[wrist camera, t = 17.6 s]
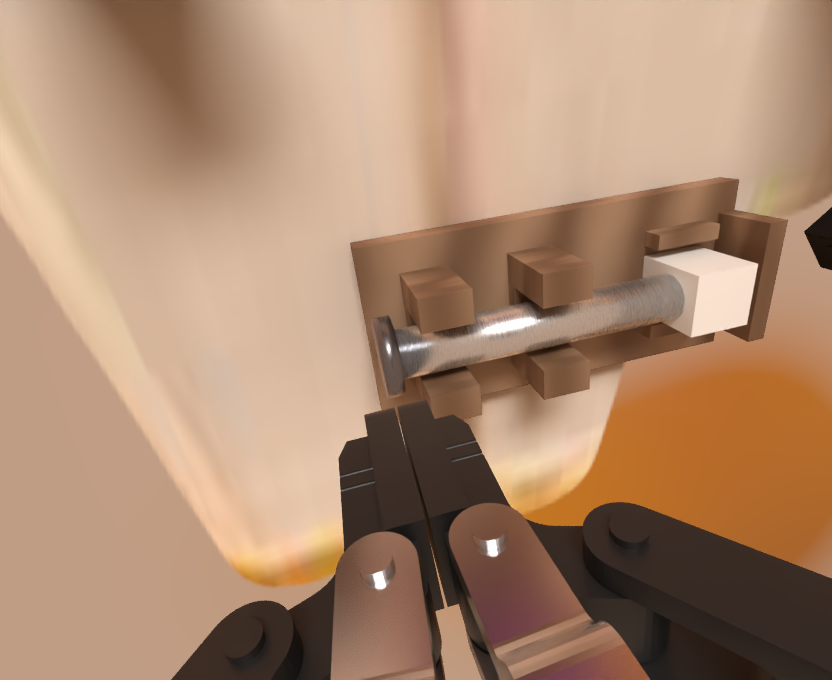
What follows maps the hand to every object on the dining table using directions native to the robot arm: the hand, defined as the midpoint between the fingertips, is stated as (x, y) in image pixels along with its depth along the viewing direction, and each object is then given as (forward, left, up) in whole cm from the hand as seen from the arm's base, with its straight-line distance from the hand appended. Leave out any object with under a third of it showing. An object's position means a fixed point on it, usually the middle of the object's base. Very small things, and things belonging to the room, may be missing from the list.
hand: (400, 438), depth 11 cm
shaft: (-10, +6, -18) cm, 22 cm away
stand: (-14, +6, -20) cm, 25 cm away
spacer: (-22, +6, -19) cm, 29 cm away
